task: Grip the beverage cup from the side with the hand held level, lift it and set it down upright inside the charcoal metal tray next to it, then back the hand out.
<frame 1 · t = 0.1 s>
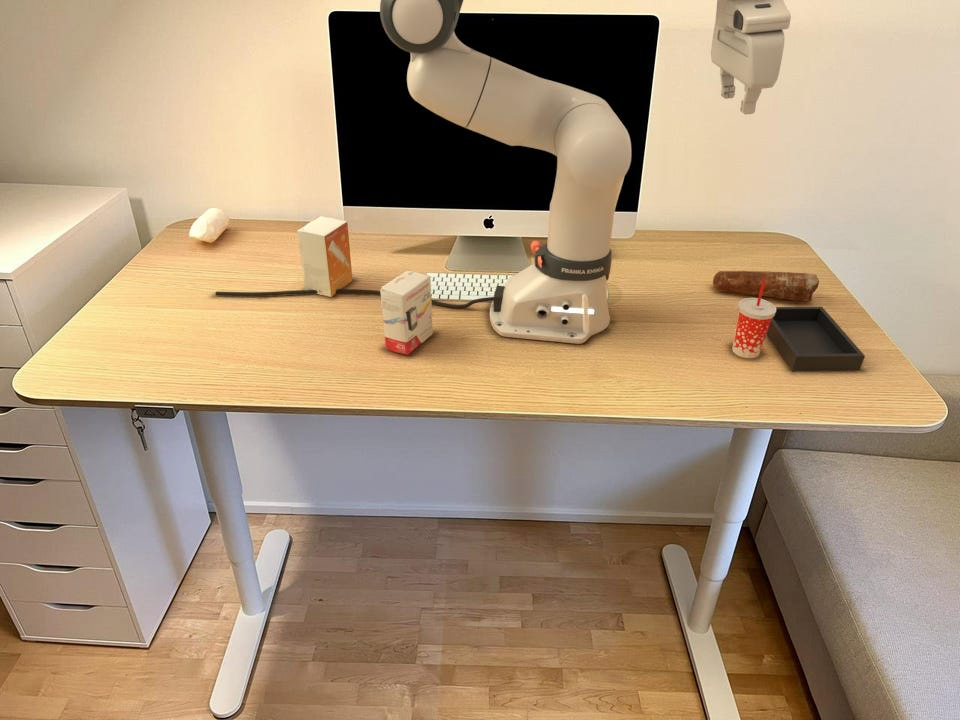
hand: (737, 105, 113), 39 cm above the table, tool pointing down, fingers open, 8 cm apart
beverage cup: (745, 352, 125), on the table
roll: (209, 241, 160), on the table
small box: (329, 286, 143), on the table
tray: (805, 344, 127), on the table
ink box: (409, 342, 126), on the table
bread: (760, 296, 142), on the table
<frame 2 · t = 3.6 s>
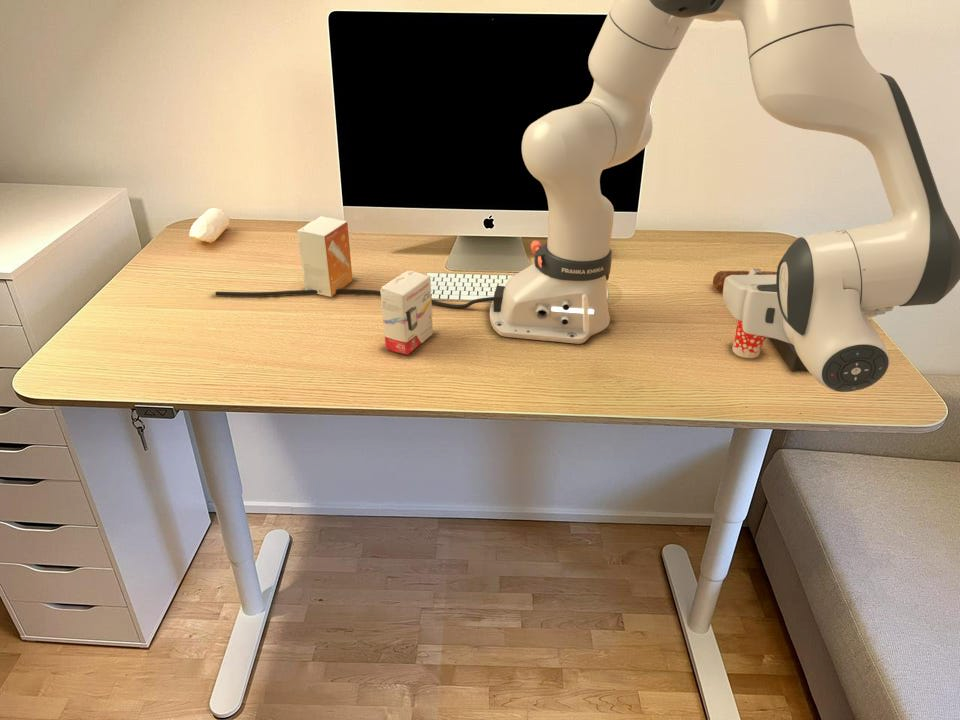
hand: (786, 273, 105), 20 cm above the table, tool horizontal, fingers open, 8 cm apart
nothing on the table moved.
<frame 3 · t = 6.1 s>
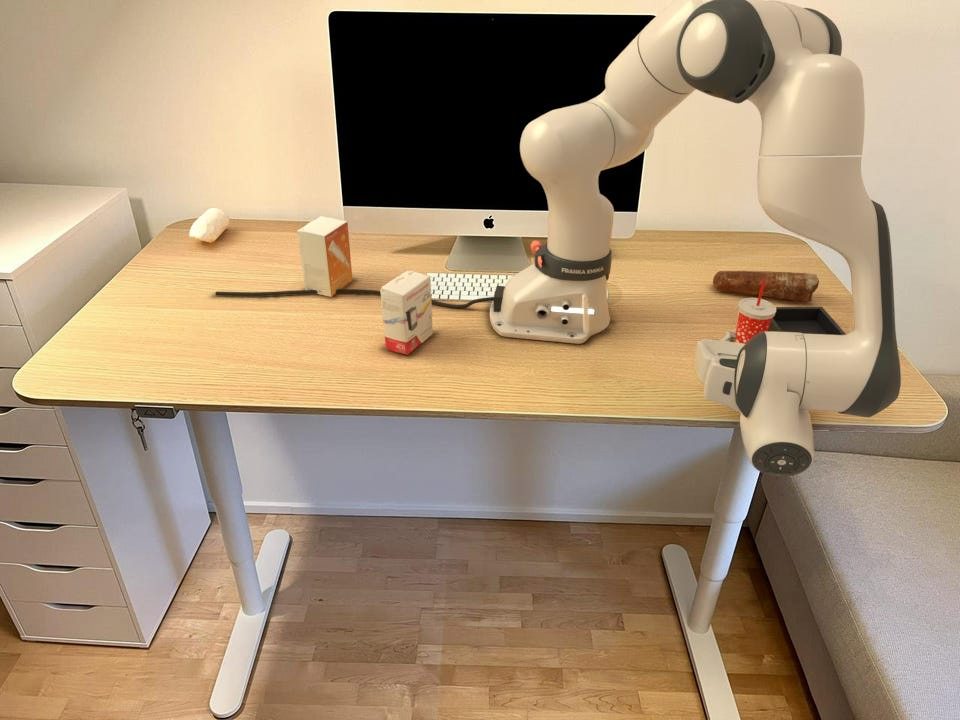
hand: (760, 339, 113), 8 cm above the table, tool horizontal, fingers open, 8 cm apart
nothing on the table moved.
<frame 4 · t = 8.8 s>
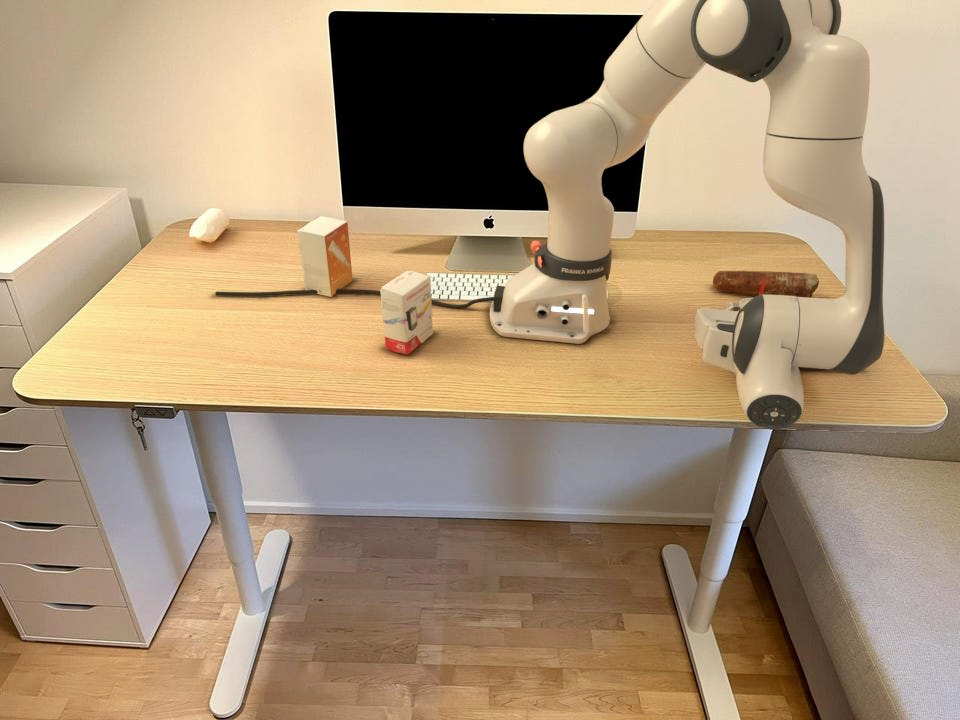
hand: (755, 308, 121), 8 cm above the table, tool horizontal, fingers closed on beverage cup, 6 cm apart
beverage cup: (745, 352, 125), on the table, touching gripper
everything else where it was.
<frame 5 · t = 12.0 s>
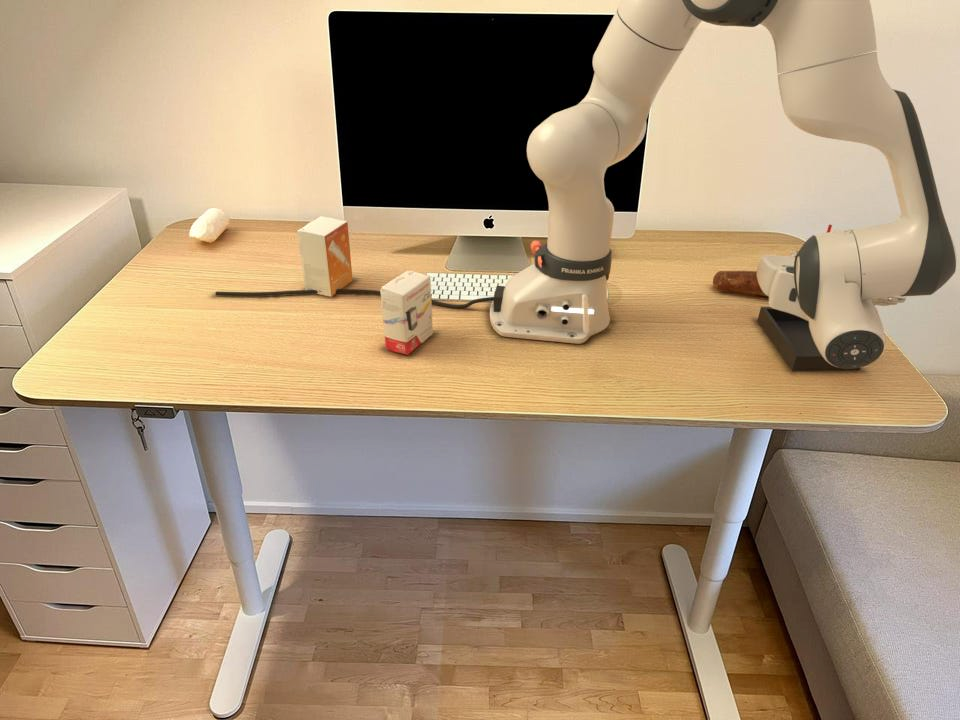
hand: (819, 257, 117), 17 cm above the table, tool horizontal, fingers closed on beverage cup, 6 cm apart
beverage cup: (806, 303, 121), point 9 cm above the table, touching gripper
everything else where it was.
when the fingers open (9 cm above the table, at t = 15.2 s): beverage cup stays where it is, resting on tray.
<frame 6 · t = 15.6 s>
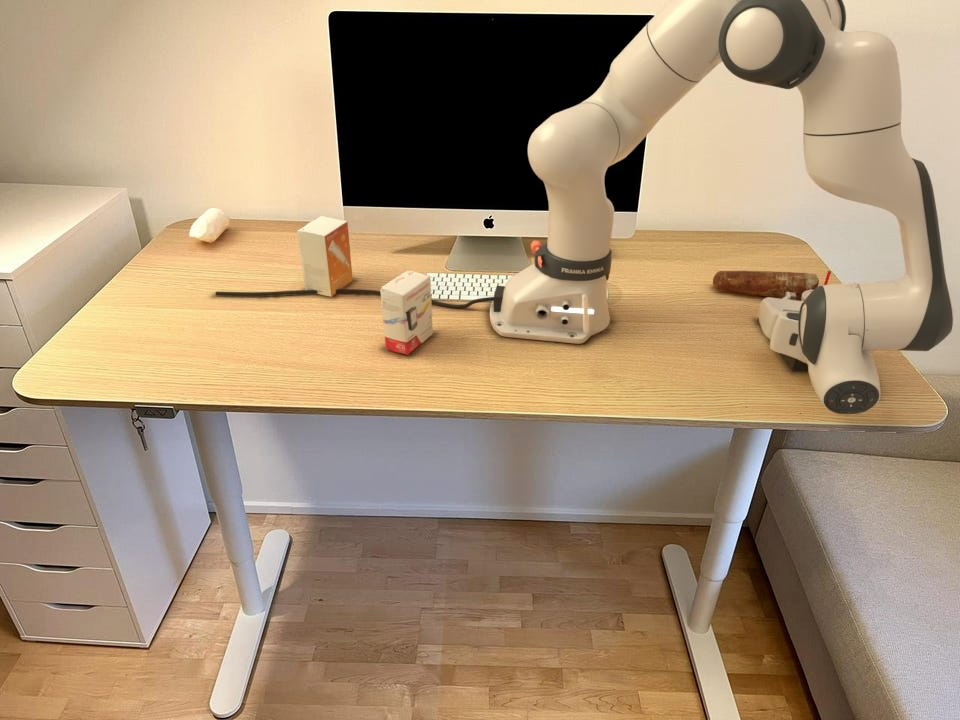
hand: (818, 299, 122), 9 cm above the table, tool horizontal, fingers open, 8 cm apart
beverage cup: (806, 343, 126), resting on tray
everything else where it was.
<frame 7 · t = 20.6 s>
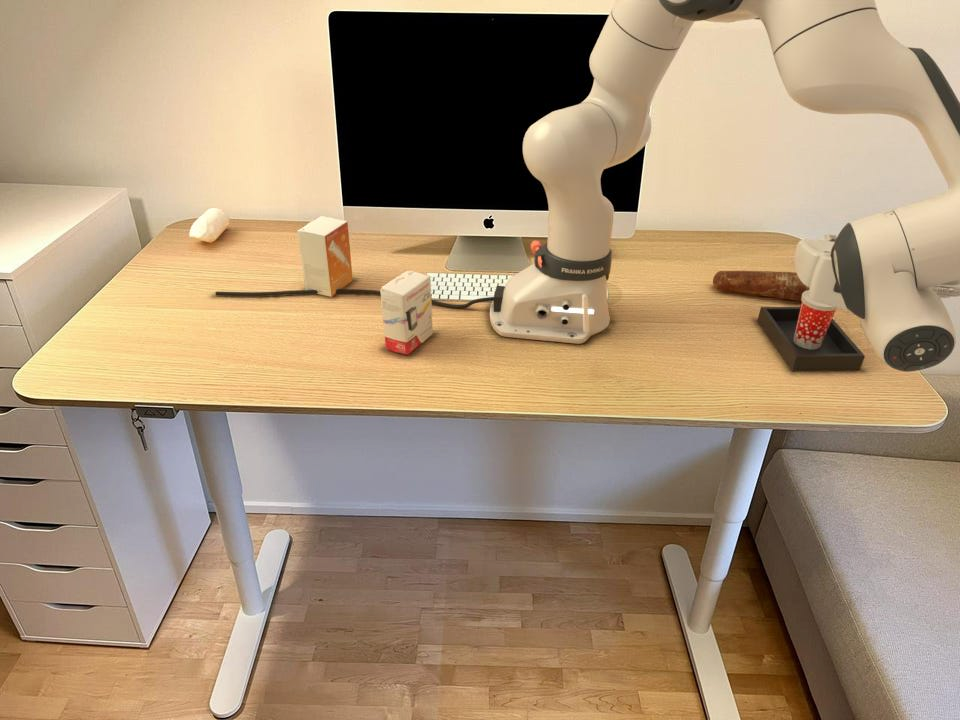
hand: (863, 242, 103), 25 cm above the table, tool horizontal, fingers open, 8 cm apart
nothing on the table moved.
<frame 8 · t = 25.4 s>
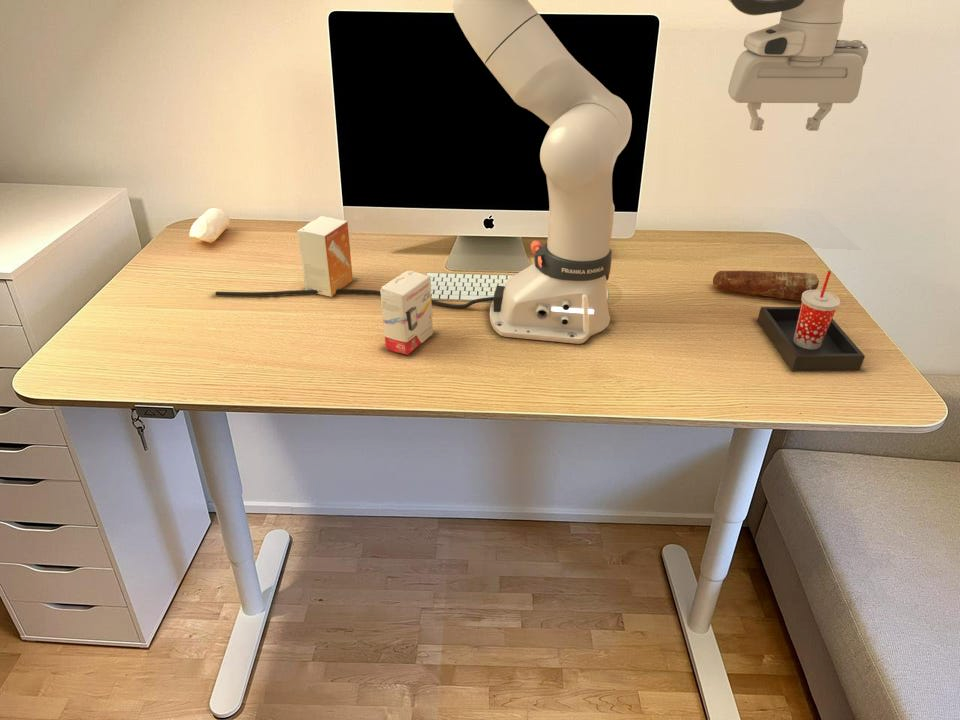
hand: (783, 129, 118), 34 cm above the table, tool pointing down, fingers open, 8 cm apart
nothing on the table moved.
at the end: beverage cup inside the target area in the tray (0.1 cm from its centre), point 0.3 cm above the tray's base; beverage cup tilted 0°; the gripper is holding nothing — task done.
